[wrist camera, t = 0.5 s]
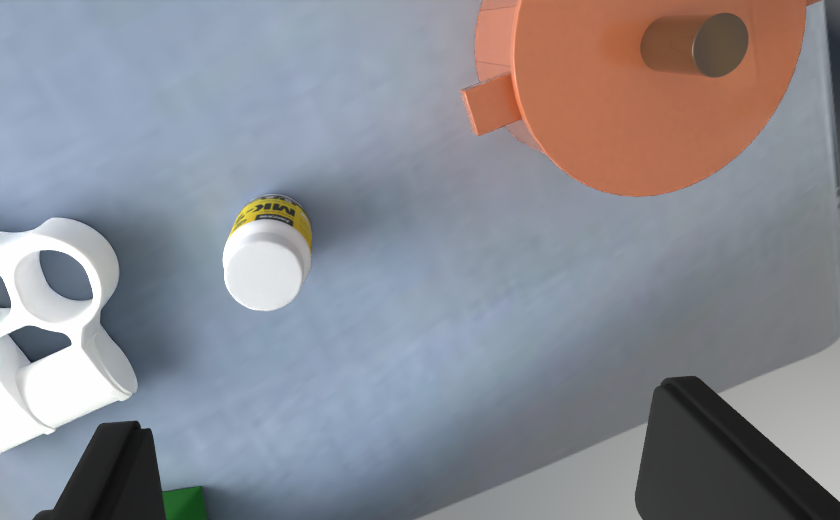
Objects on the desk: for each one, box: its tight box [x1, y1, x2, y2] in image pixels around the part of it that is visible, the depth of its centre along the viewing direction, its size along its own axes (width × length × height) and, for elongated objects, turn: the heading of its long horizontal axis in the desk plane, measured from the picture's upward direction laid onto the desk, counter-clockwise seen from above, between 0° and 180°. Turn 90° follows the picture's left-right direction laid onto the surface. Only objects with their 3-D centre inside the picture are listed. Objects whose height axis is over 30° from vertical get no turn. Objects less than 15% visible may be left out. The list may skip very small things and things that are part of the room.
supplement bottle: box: [223, 194, 312, 311], centre depth 35 cm, size 5×5×8 cm
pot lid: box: [510, 0, 806, 197], centre depth 28 cm, size 15×15×6 cm
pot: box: [460, 0, 821, 153], centre depth 34 cm, size 14×20×8 cm
